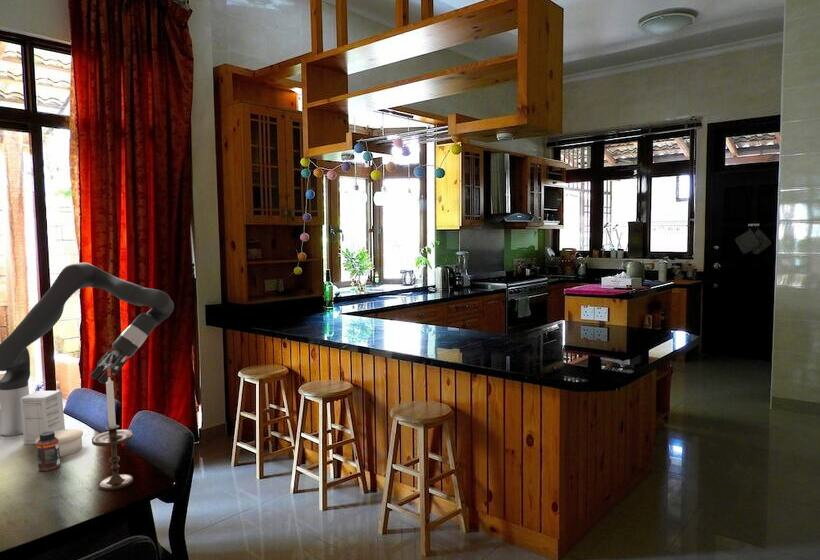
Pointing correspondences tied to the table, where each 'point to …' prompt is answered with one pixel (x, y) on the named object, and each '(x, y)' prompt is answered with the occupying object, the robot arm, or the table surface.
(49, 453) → the supplement bottle
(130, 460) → the table surface
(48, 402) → the supplement box
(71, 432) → the podium
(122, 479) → the candlestick
